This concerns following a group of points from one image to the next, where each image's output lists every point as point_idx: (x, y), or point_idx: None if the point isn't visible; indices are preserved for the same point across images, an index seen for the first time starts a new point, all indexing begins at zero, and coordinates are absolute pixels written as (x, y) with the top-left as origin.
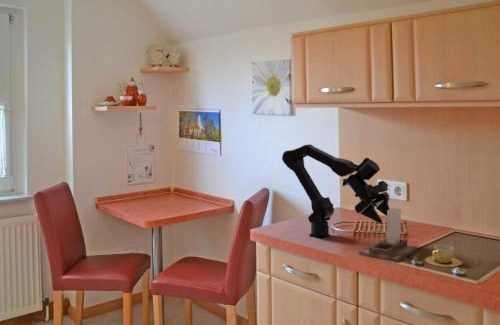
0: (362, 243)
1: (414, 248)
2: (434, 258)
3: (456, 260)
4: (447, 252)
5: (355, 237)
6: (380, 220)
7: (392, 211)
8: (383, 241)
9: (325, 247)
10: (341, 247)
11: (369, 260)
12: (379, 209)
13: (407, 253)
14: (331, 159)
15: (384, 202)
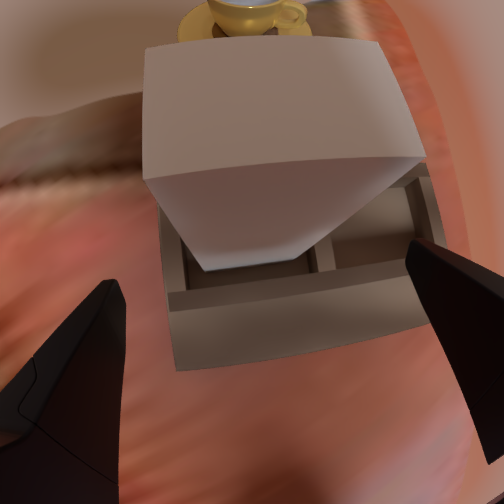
0: (259, 443)
1: None
2: (292, 27)
3: (205, 10)
4: None
5: None
6: (436, 248)
7: (390, 78)
8: (297, 281)
9: (433, 480)
10: (396, 452)
11: (458, 234)
12: (110, 500)
13: None
14: None
15: (16, 489)
